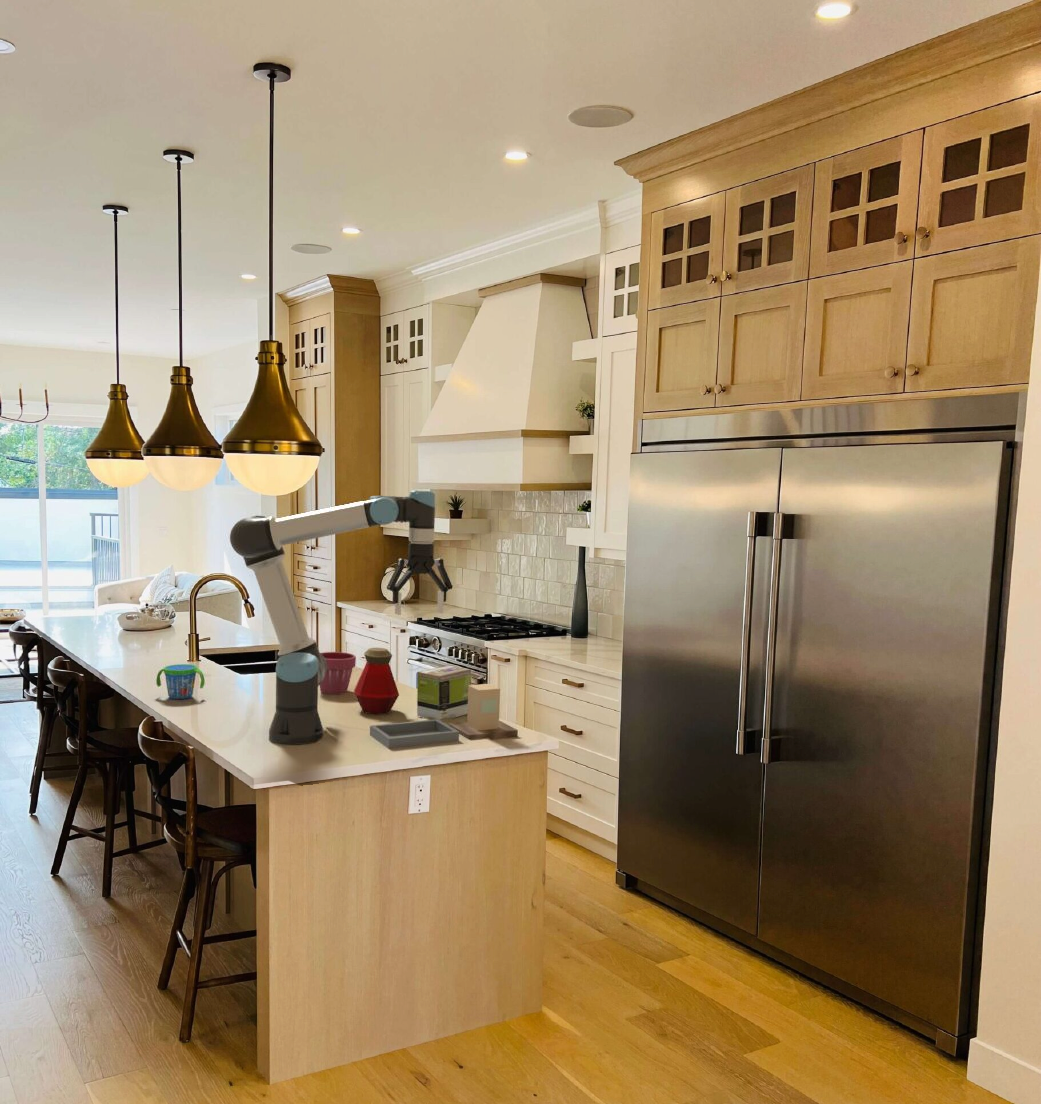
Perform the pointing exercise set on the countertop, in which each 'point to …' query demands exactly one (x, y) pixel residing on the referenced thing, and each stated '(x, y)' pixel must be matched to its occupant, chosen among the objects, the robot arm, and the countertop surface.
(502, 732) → the walnut board
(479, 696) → the box
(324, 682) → the plant pot
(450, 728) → the bin
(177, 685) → the snack cup
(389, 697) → the bottle
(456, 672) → the tea box
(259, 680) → the countertop surface
